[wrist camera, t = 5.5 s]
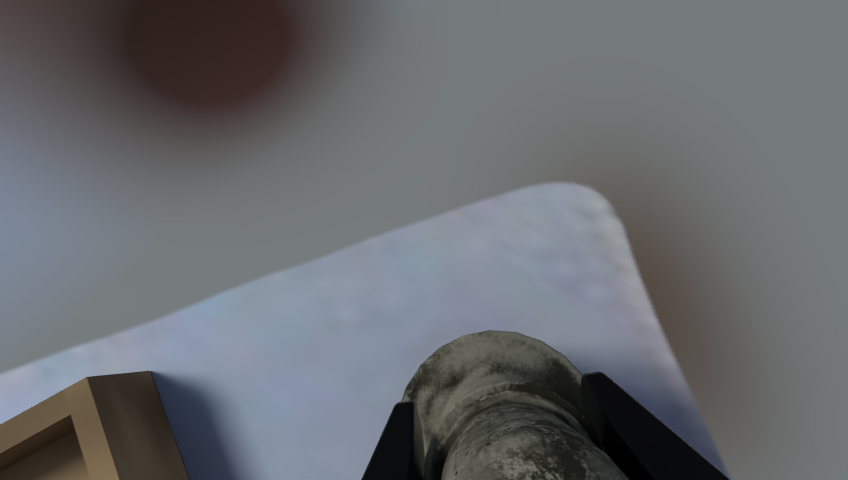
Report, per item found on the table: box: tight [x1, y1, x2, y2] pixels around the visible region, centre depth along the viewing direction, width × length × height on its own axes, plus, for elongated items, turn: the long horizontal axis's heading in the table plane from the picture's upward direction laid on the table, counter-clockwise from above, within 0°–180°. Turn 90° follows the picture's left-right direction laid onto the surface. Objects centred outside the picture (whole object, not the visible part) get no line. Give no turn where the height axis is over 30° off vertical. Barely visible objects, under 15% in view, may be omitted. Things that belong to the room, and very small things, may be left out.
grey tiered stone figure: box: [401, 330, 629, 480], centre depth 10 cm, size 6×6×12 cm
